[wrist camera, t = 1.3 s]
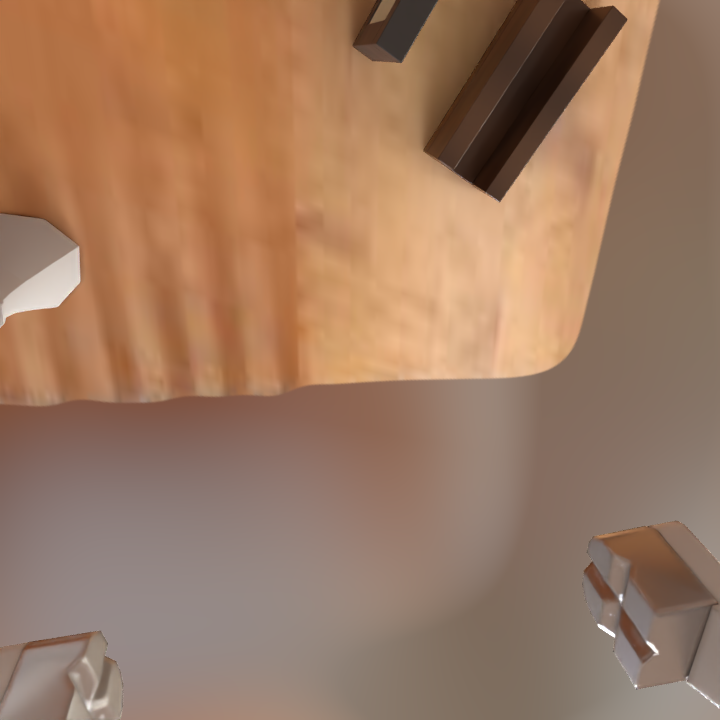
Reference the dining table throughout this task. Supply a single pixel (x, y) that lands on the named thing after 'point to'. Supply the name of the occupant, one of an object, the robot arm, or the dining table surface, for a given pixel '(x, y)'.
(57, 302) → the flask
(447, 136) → the holder
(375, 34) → the frame
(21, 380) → the dining table surface
